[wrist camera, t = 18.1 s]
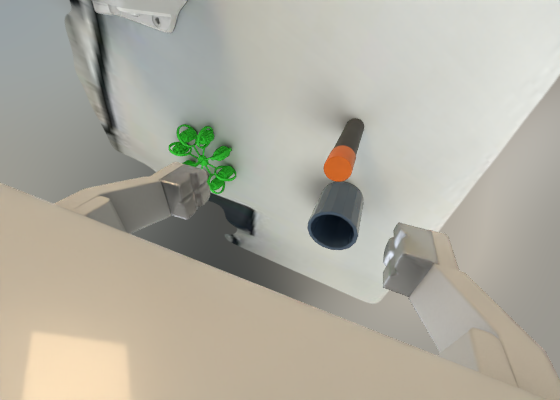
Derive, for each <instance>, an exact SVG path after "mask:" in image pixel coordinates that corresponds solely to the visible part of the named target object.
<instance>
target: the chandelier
mask: <svg viewBox="0 0 560 400" xmlns="http://www.w3.org/2000/svg"><path fill="white" fill-rule="evenodd" d="M181 126H186V127H188V128H189V129H187V130H185V131H183V132H181V133H180V134H179V129H180V127H181ZM181 126H179V127H178V129H177V137H178V139H179V141H180V142H174V143H171V144H170V145H169V151H170V152H171V153H172V154H174V155H177V156H187V155H189V154H190V155H191V156H193V157H195V158H197V159H198V162H197V163H195V161H194V162H192V161H191V160H187V161H185V162H184V163H183V164H186V165H190V166H193V167H196V166H198V165H199V164H200V165H202V167H201V169H203V166H205V167H206V168H207V166H206V165H210V166H212V167H214V166H213V165H211V164H209V163H208V159H211V160H217V161H221V160H224V159H225V158H226V157H228V156H229V154H230V152H231V151H232V149H231V147H230V148H228V147H226V146H222V147H220V148H218V149H217V150H216V151H215V152H214V154H213V156H212V157H210V158H206V157H205V156H204V150H205V148H206V147H207V146H208V145H209V143H210V142H211V141H212V140H213V139H214V134H213V129H212V128H211V127H209V126H205V127H204V128H202V129H201V131H200V132H199V134H198V135H197V134H196V132H195V130H194V129H193V128H192V127H191V126H189V125H186V124H183V125H181ZM207 128H210V130H206V129H207ZM194 139H195V144H194V145H192V146H191V145H188V144H187V143H186V142H190V141H192V140H194ZM199 143H200V144H202V145H204V144H205V145H204V146H201V147H200V144H199ZM196 144H197V146H198V147H200V148H202V149H203V155H200V154H199V153H198V151H197V149H196V148H195V145H196ZM173 145H175V146H174V147H173V148H172V150H171V149H170V147H171V146H173ZM191 147H194V149H195V150H196V152H197V153H198V155H199V158H198V157H196V156H194V155H192V154H191V152H192V148H191ZM189 148H190V152H188V150H189ZM186 152H188V153H186ZM214 168H216V167H214ZM220 168H222V169H221V170H220V171H219V173H218V174H216V170H217V169H220ZM207 170H208V172H209V173H210V171H209V169H208V168H207ZM233 172H234V173H235V176H234V177H233V178H231V179H228V178H229V177H230V176H231V175H232V174H233ZM212 175H215V176H216V178H214V179H213V180H212V181H211V183H210V178H211V176H212ZM235 178H236V171H235V170H234V169H233V168H232V167H231V166H218V167H217V168H216V169H215V172H214V174H211V173H210V176H209V178H208V180H207V182H208V185H209V187H210V190H211V191H212V192H213V193H215V194H219V193H222V192H223V191H224V188H225V182H224V181H232V180H234V179H235ZM222 185H223V188H222V190H221V192H219V193H217V192H215V191H214V190H217V189H219V188H220V187H221V186H222Z"/></svg>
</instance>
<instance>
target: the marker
mask: <svg viewBox="0 0 560 400" xmlns="http://www.w3.org/2000/svg"><path fill="white" fill-rule="evenodd" d="M363 130H364V124H363V122H362V121H361V120H360V119H351V120H350V121H348V122H347V124H346V126H345V128H344V130H343V132H342V134H341V136H340V137H339V139H338V141H337V143H336V145H335V147H334V149H333V150H332V151H331V153H330V155H329V156H328V158H327V160H326V162H325V164H324V173H325V175H326V176H327V177H328V178H329V179H331V180H333V181H336V182H341V181H344V180H346V179H348V178H349V177H350V175H351V173H352V170H353V167H354V163H355V159H356V153H357V150H358V147H359V143H360V140H361V137H362V133H363Z"/></svg>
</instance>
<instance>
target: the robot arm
mask: <svg viewBox="0 0 560 400" xmlns="http://www.w3.org/2000/svg"><path fill="white" fill-rule="evenodd" d="M187 1H188V0H92V2H93V6H94V10H95V11H96V12H97V13H101V14H106V15H114V14H116V15H119V16H121V17H124V18H127V19H130V20H132V21H135V22H138V23H140V24H143V25H146V26H149V27H151V28H154V29H157V30H160V31H162V32H167V33H171V32H172V31H173V30H174V27H175V24H176V20H177V15H178V13H179V12H180V10H181V9H182V8H183V6H184V5H185V4H186V2H187ZM159 20H160V22H159ZM207 180H208V174H207V172H206V171H205V170H203V169H200V168H196V167H193V166H190V165H186V164H183V163H179V162H174V163H172V164H170V165H169V166H167V167H165V168H163V169H162V170H160V171H158V172H156V173H155V174H153V175H151V176H150V177H140V178H135V179H131V180H125V181H120V182H115V183H110V184H105V185H101V186H95V187H90V188H85V189H83V190H81V191H79V192H77V193H75V194H73V195H71V196H69V197H67V198H65V199H63V200H61V201H59V202H57V203H55V204H53V203H50V202H48V201H45V200H43V199H40V198H38V197H35V196H33V195H30V194H27V193H25V192H22V191H20V190H17V189H15V188H12V187H10V186H7V185H5V184H2V183H0V400H560V379H559V377H558V375H557V373H556V371H555V369H554V367H553V365H552V363H551V361H550V359H549V357H548V355H547V353H546V351H545V350H544V349H543V348H542V347H541V346H540V345H538V344H537V343H536V342H535V341H534V340H533V339H532V338H531V337H530V336H529V335H528V334H527V333H526V332H525V331H524V330H523V329H522V328H521V327H520V326H519V325H518V324H517V323H516V322H515V321H514V320H513V319H512V318H511V317H510V316H509V315H508V314H507V313H506V312H505V311H504V310H503V309H501V308H500V307H499V306H498V305H497V304H496V303H495V302H494V301H493V300H492V299H491V298H490V297H489V296H488V295H487V294H486V293H485V292H484V291H483V290H482V289H481V288H480V287H479V286H478V285H477V284H476V283H475V282H474V281H473V280H472V279H471V278H470V277H469V276H467V274H466V273H464V272H461V271H459V268H458V265H457V262H456V259H455V256H454V252H453V250H452V246H451V243H450V240H449V237H448V235H447V234H444V233H440V232H436V231H432V230H426V229H422V228H418V227H414V226H411V225H407V224H403V223H398V224H397V225H396V227H395V229H394V237H393V238H390V239H389V241H388V243H387V245H386V248H385V252H384V259H383V263H384V264H385V266H386V268H385V270H384V272H383V288H386V289H389V290H391V291H394V292H397V293H400V294H402V295H405V296H407V297H409V300H410V302H411V303H412V305H413V307H414V309H415V310H416V312H417V314H418V316H419V317H420V319H421V321H422V322H423V324H424V326H425V328H426V329H427V331H428V333H429V335H430V336H431V338H432V340H433V342H434V343H435V345H436V347H437V348H438V350H439V352H440V354H438V355H434V354H432V353H429V352H427V351H424V350H422V349H419V348H417V347H414V346H412V345H409V344H407V343H404V342H402V341H399V340H397V339H394V338H392V337H389V336H386V335H384V334H381V333H379V332H376V331H374V330H371V329H369V328H366V327H364V326H361V325H359V324H356V323H354V322H351V321H349V320H346V319H343V318H341V317H339V316H336V315H333V314H331V313H328V312H326V311H323V310H321V309H318V308H316V307H313V306H311V305H308V304H306V303H303V302H300V301H298V300H295V299H293V298H290V297H288V296H285V295H282V294H280V293H278V292H275V291H273V290H270V289H267V288H265V287H262V286H260V285H257V284H255V283H252V282H250V281H247V280H245V279H242V278H239V277H237V276H235V275H232V274H230V273H227V272H224V271H222V270H220V269H217V268H215V267H212V266H209V265H207V264H204V263H202V262H199V261H197V260H194V259H192V258H189V257H187V256H184V255H181V254H179V253H177V252H174V251H172V250H169V249H166V248H164V247H161V246H159V245H156V244H154V243H151V242H149V241H146V240H144V239H141V238H139V237H136V236H133V235H131V234H130V233H132V232H135V231H137V230H140V229H142V228H144V227H147V226H149V225H151V224H154V223H156V222H158V221H161V220H163V219H165V218H168V217H170V216H171V215H173V216H176V217H179V218H183V219H186V220H188V219H189V218H190V217H191V216H192V215H193V214H194V213H195V212H196V211H197V207H200V206H203V205H204V204H205V203H206V202H207V201H208V199H209V197H210V187H209V185H208V184H207Z"/></svg>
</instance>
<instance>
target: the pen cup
mask: <svg viewBox="0 0 560 400" xmlns="http://www.w3.org/2000/svg"><path fill="white" fill-rule="evenodd" d="M362 209H363V196H362V193H361V192H360V190H359V189H358V188H357V187H356V186H354V185H352V184H350V183H347V182H333V183H331V184H329V185H327V186H326V187H325V188H324V190H323V191H322V193H321V195H320V197H319V199H318V202H317V204H316V206H315V208H314V210H313V213H312V215H311V217H310V219H309V222H308V231H309V234H310V236H311V237H312V239H313V240H314V241H315V242H316V243H318V244H319V245H321V246H322V247H325V248H328V249H331V250H343V249H347V248H350V247H351V246H352V245H353V244H354V243H355V242H356V240H357V237H358V233H359V227H360V221H361V215H362Z"/></svg>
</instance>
